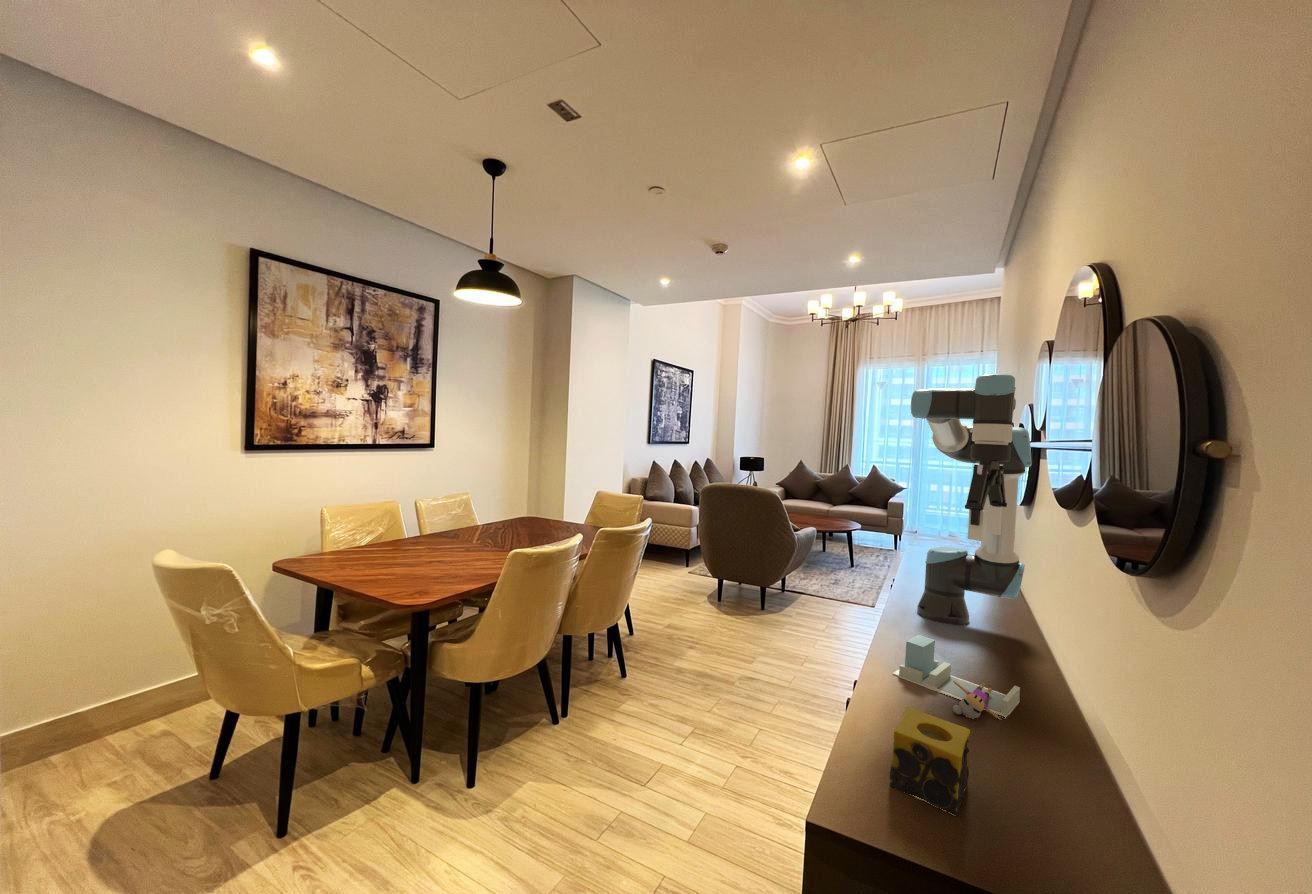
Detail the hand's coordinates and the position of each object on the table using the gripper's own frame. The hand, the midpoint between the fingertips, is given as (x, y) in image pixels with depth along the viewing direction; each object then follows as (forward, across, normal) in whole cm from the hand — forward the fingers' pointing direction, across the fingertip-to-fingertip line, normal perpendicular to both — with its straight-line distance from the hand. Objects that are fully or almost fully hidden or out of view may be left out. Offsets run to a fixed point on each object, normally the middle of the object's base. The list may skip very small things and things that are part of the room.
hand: (984, 536), depth 114 cm
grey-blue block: (+36, 0, -12) cm, 38 cm away
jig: (+37, 0, -4) cm, 37 cm away
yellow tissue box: (+37, +42, +5) cm, 56 cm away
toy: (+36, -2, +1) cm, 36 cm away
